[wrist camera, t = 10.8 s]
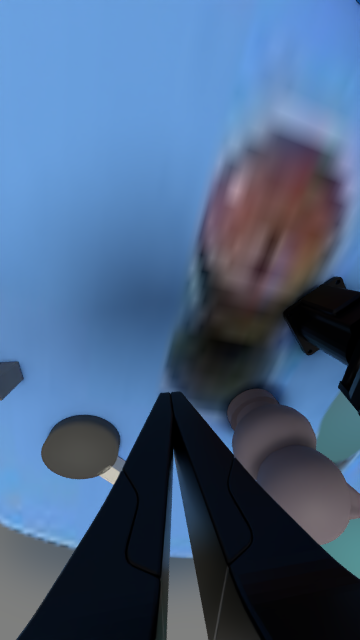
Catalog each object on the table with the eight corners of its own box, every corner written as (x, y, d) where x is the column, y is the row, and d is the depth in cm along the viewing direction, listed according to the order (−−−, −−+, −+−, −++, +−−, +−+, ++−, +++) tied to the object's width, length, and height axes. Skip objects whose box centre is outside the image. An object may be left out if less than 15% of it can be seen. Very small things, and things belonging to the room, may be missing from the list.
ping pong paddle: (146, 452, 25) (146, 464, 24) (99, 483, 26) (96, 497, 25) (85, 403, 22) (80, 414, 20) (33, 441, 23) (24, 454, 21)
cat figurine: (263, 368, 23) (366, 482, 12) (294, 405, 26) (402, 528, 14) (206, 411, 24) (251, 551, 13) (241, 442, 27) (303, 582, 16)
